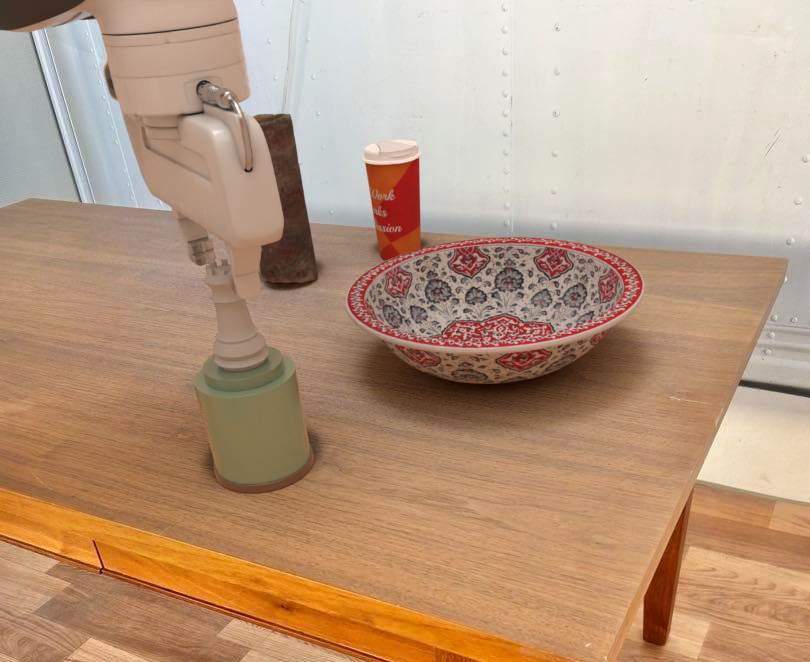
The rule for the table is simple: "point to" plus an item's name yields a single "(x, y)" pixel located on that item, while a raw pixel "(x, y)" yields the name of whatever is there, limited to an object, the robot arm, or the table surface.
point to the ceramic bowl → (495, 306)
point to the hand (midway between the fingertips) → (224, 277)
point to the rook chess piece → (233, 325)
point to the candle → (287, 208)
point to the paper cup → (395, 195)
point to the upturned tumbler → (255, 424)
